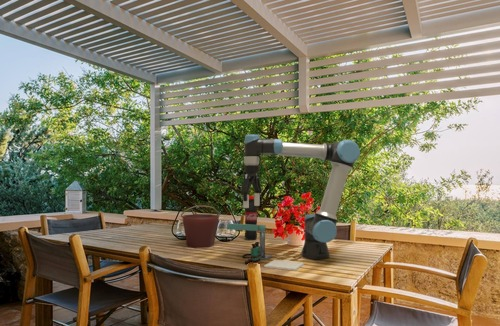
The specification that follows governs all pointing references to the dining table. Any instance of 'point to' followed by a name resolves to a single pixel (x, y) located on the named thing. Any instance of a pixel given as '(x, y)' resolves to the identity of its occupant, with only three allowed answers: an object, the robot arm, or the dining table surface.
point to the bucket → (200, 228)
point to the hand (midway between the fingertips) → (251, 206)
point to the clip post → (263, 246)
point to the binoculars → (253, 254)
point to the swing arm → (246, 227)
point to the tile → (284, 265)
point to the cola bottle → (251, 219)
